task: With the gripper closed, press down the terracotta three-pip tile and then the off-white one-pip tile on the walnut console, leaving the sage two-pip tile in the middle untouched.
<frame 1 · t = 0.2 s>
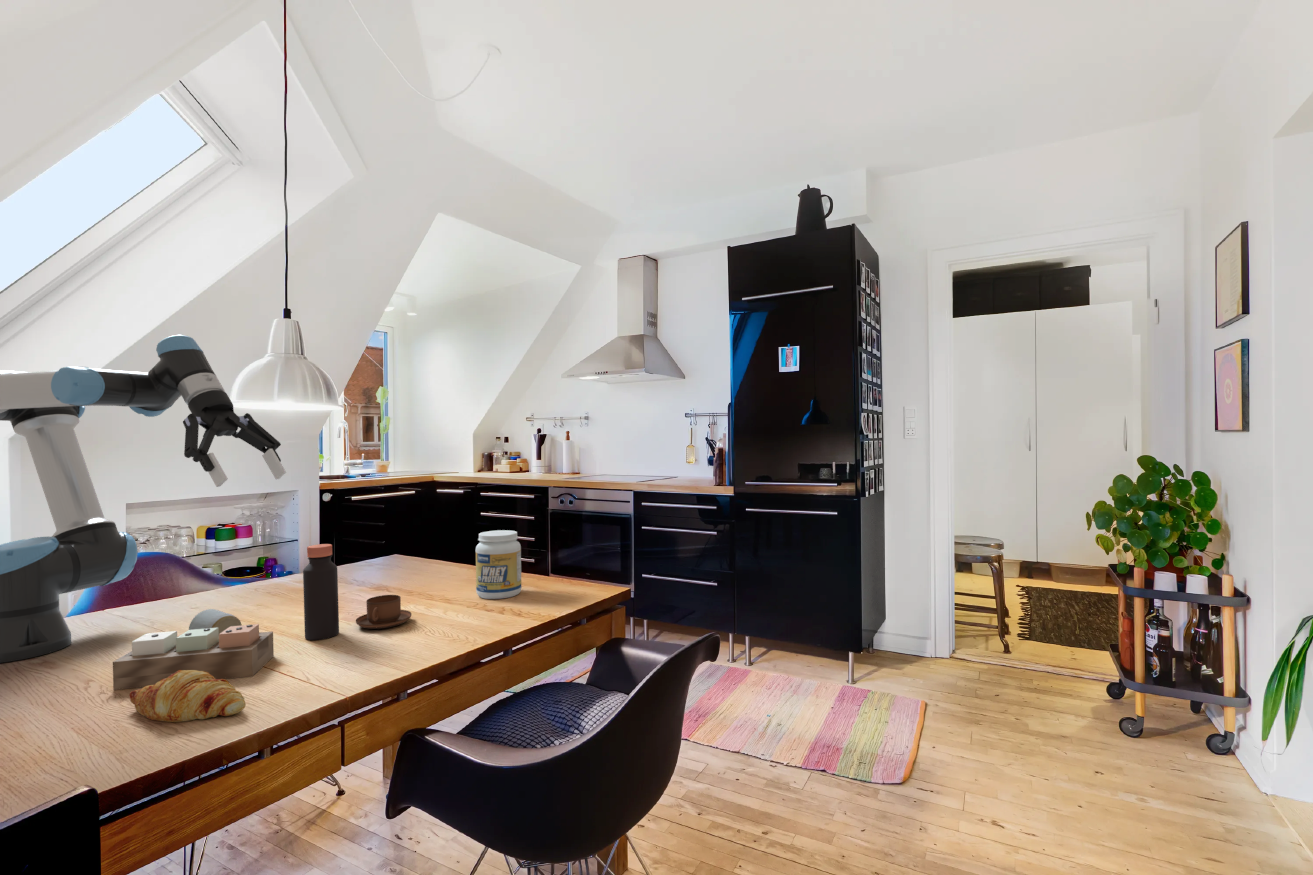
hand: (253, 479, 134), 35 cm above the table, tool tilted 35°, fingers open, 13 cm apart
supplement tub: (499, 595, 174), on the table
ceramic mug: (222, 644, 137), on the table
cup and saucer: (384, 625, 148), on the table
bottle: (322, 636, 141), on the table
three pip tile: (239, 637, 122), point 6 cm above the table, slide at 0.0 cm
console: (198, 671, 120), on the table
two pip tile: (197, 641, 120), point 6 cm above the table, slide at 0.0 cm
one pip tile: (155, 644, 118), point 6 cm above the table, slide at 0.0 cm
croissant: (186, 714, 102), on the table
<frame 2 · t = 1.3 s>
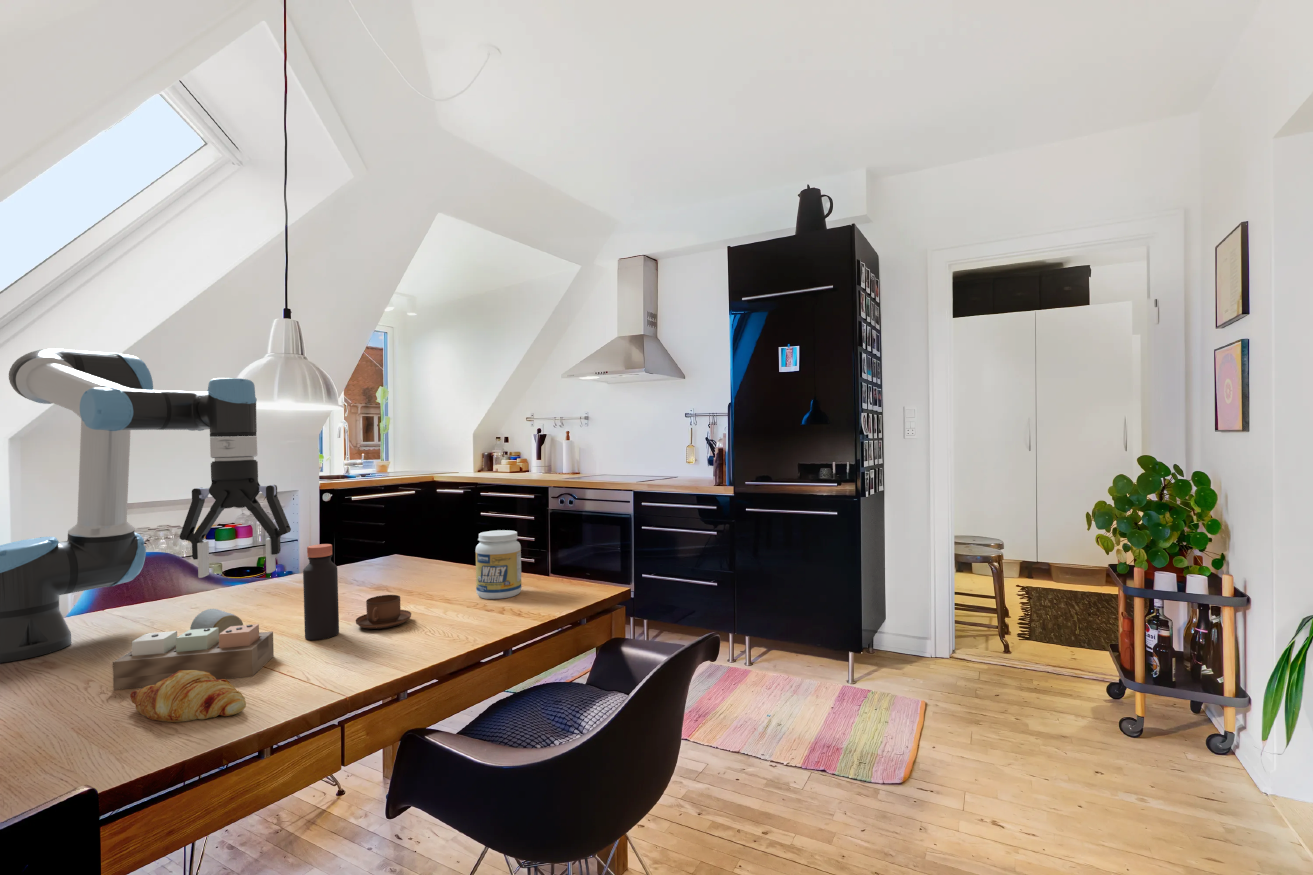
hand: (237, 573, 122), 18 cm above the table, tool pointing down, fingers open, 11 cm apart
nothing on the table moved.
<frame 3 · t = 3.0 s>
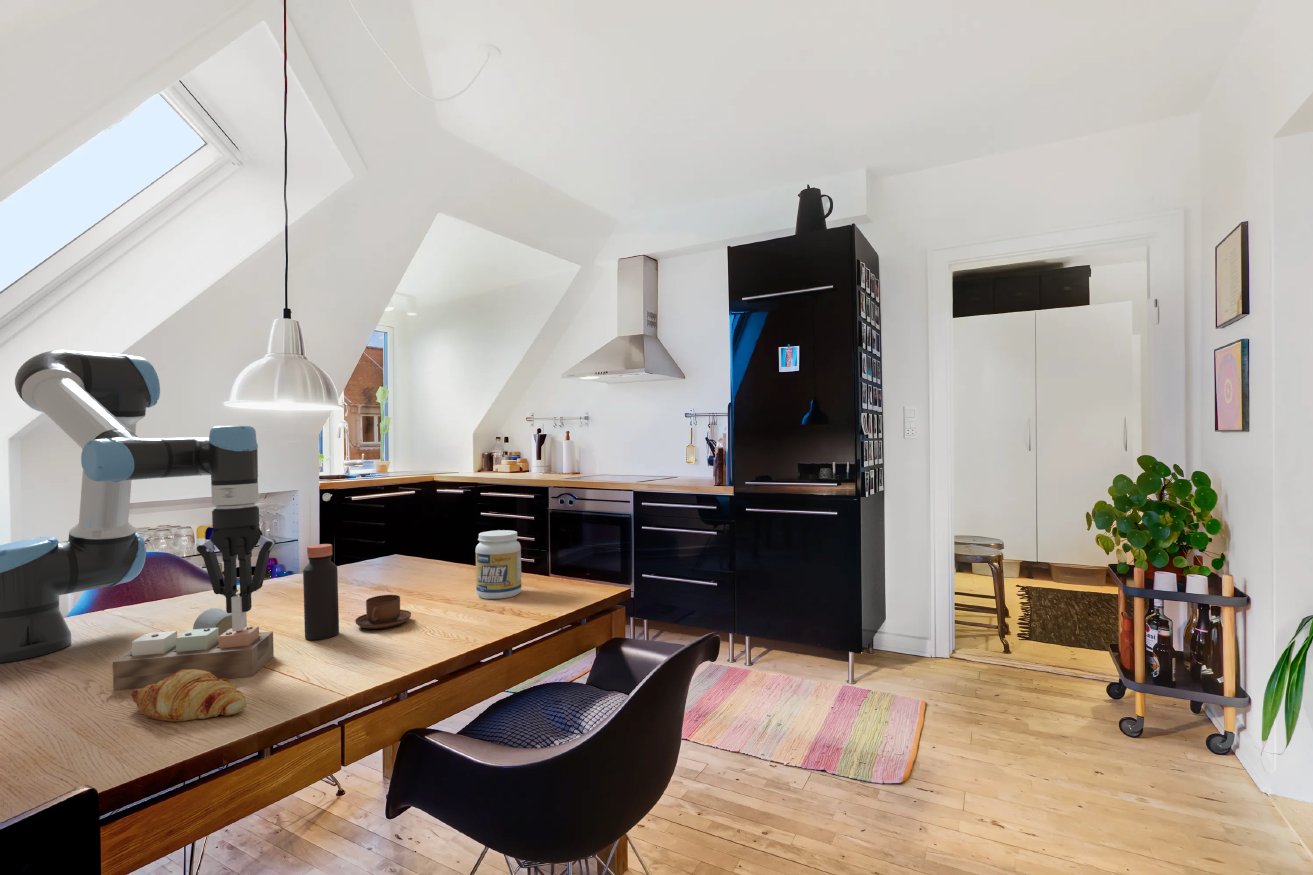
hand: (239, 628, 122), 8 cm above the table, tool pointing down, fingers closed
three pip tile: (239, 639, 122), point 5 cm above the table, slide at 0.4 cm, touching gripper
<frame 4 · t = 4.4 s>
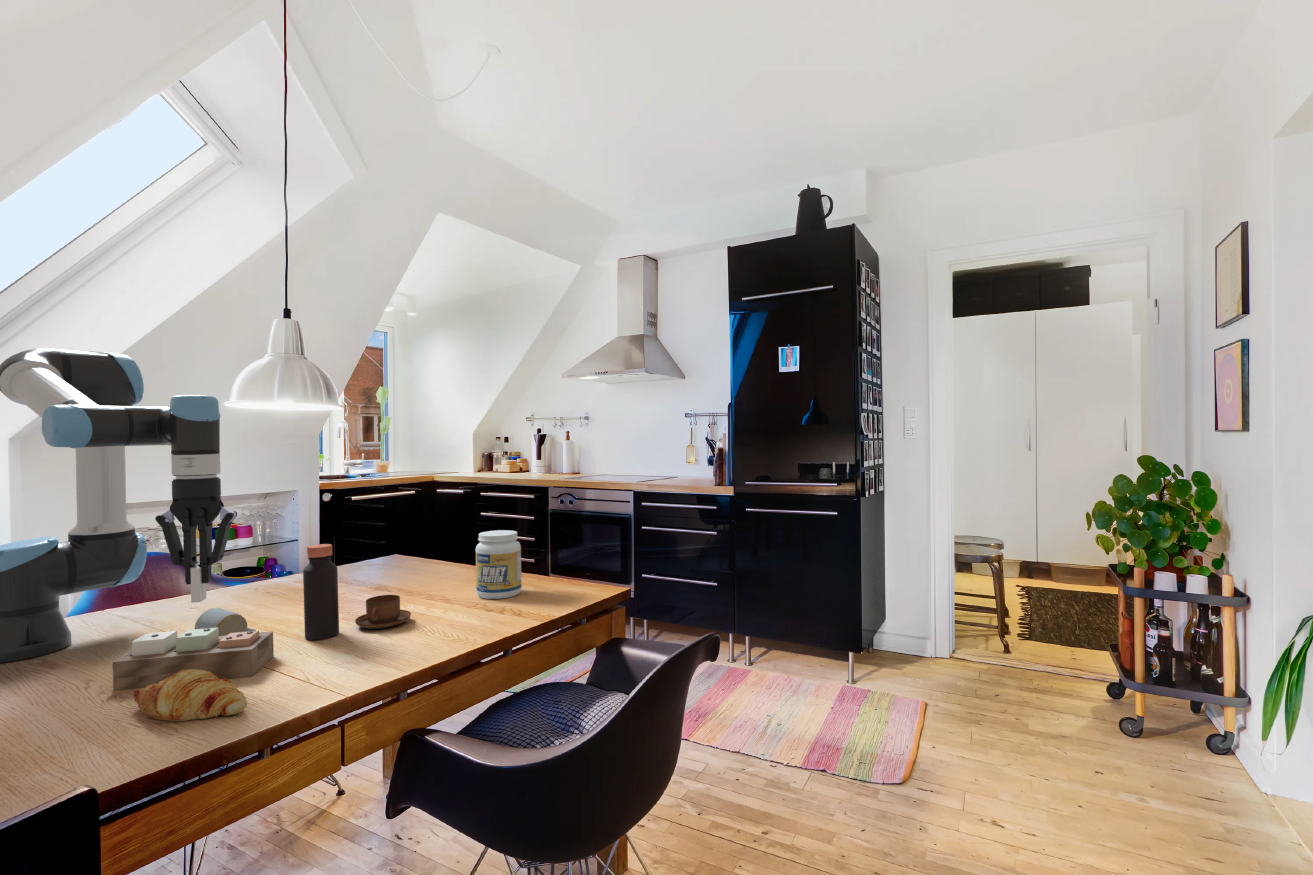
hand: (198, 600, 121), 13 cm above the table, tool pointing down, fingers closed
three pip tile: (239, 644, 122), point 5 cm above the table, slide at 1.3 cm
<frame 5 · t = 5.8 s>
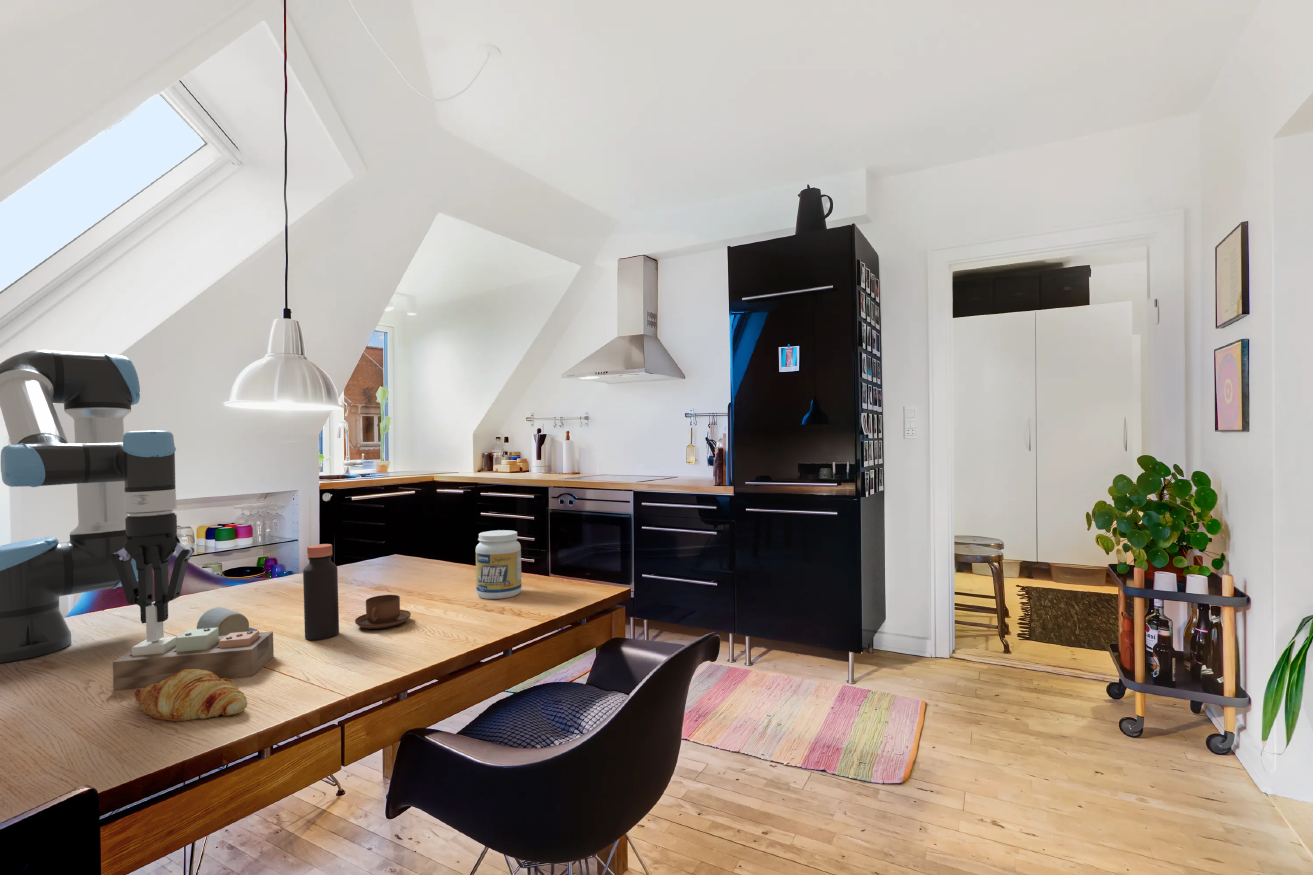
hand: (155, 639, 118), 7 cm above the table, tool pointing down, fingers closed
one pip tile: (155, 650, 118), point 5 cm above the table, slide at 1.0 cm, touching gripper
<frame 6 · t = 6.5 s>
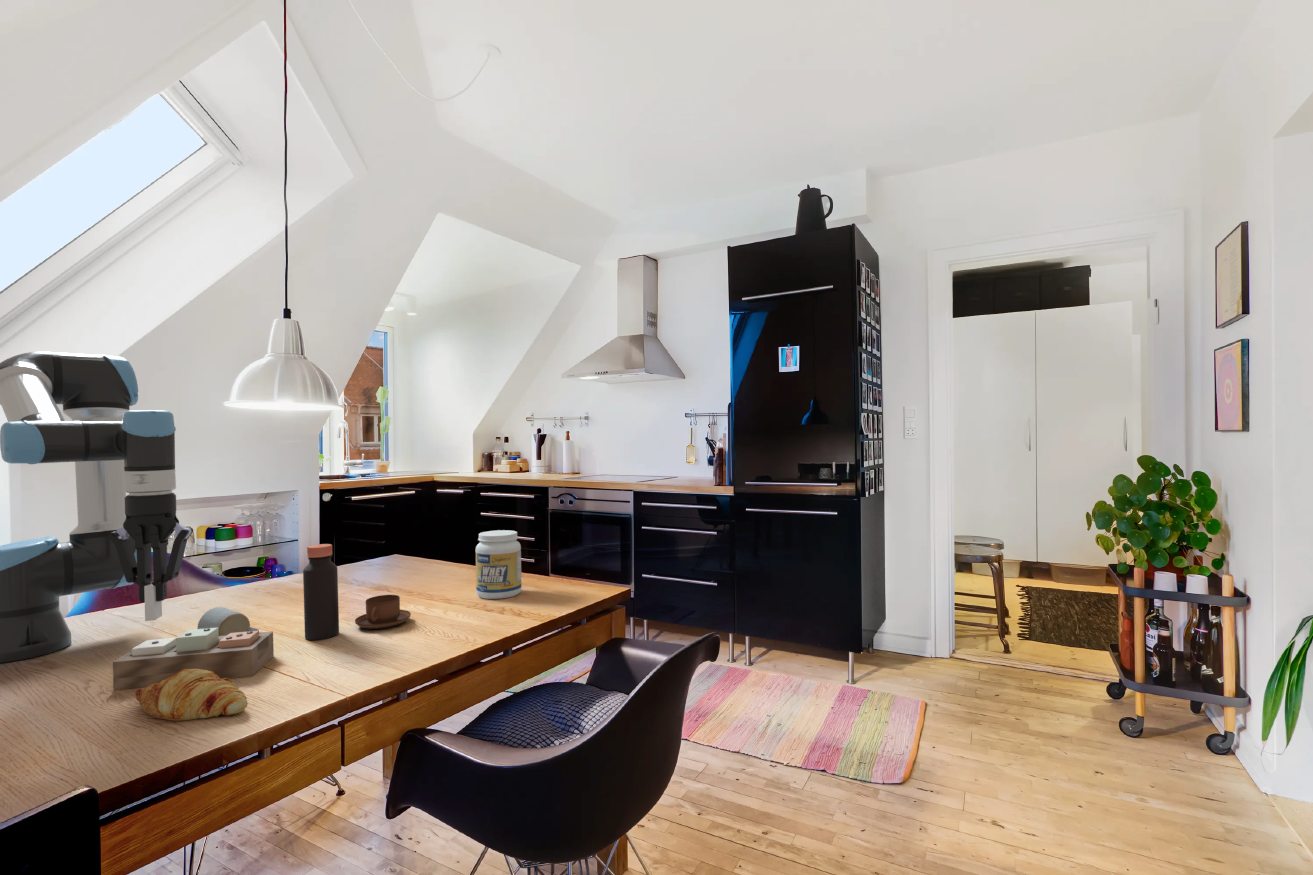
hand: (153, 618, 119), 11 cm above the table, tool pointing down, fingers closed
one pip tile: (155, 651, 118), point 5 cm above the table, slide at 1.3 cm
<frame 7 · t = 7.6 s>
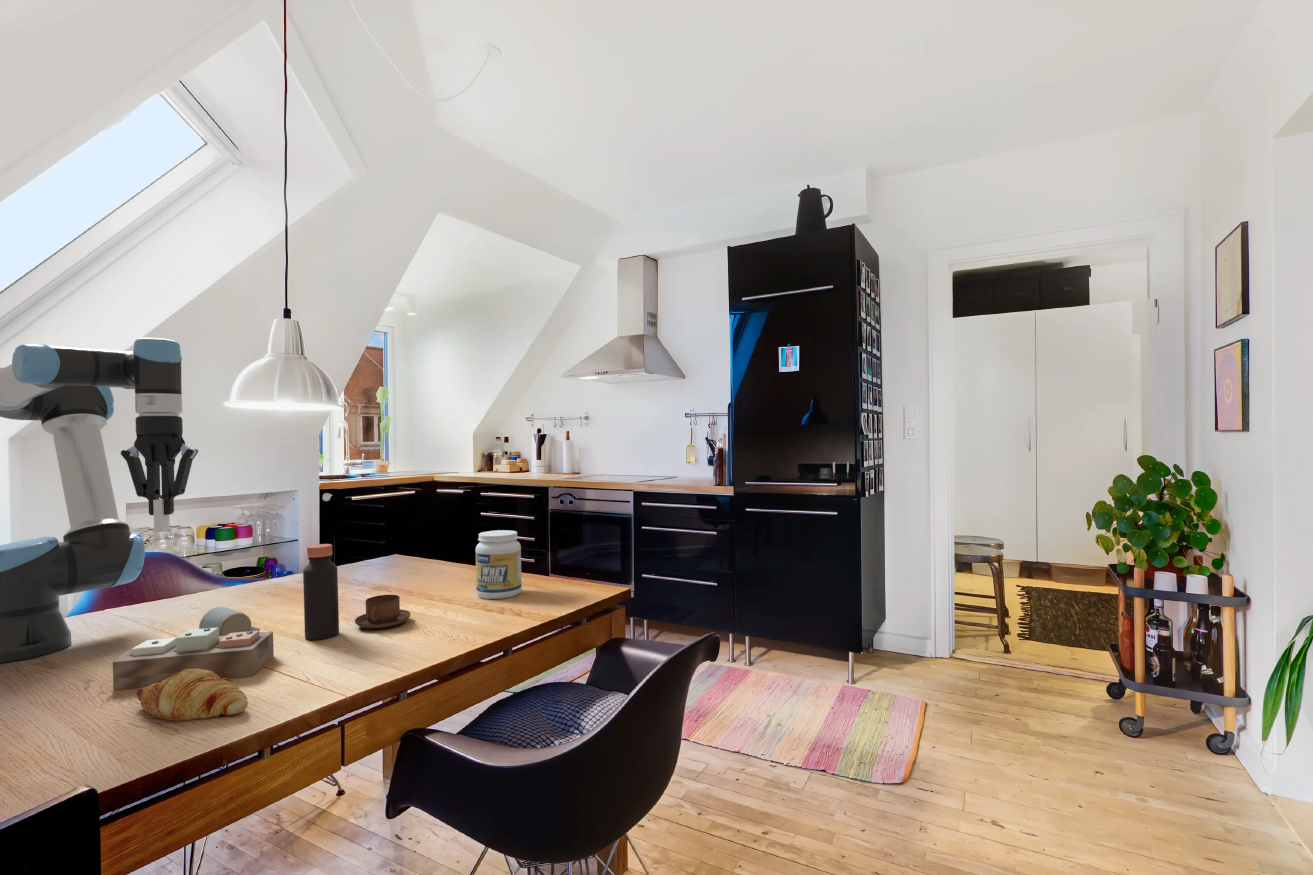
hand: (161, 530, 129), 26 cm above the table, tool pointing down, fingers closed
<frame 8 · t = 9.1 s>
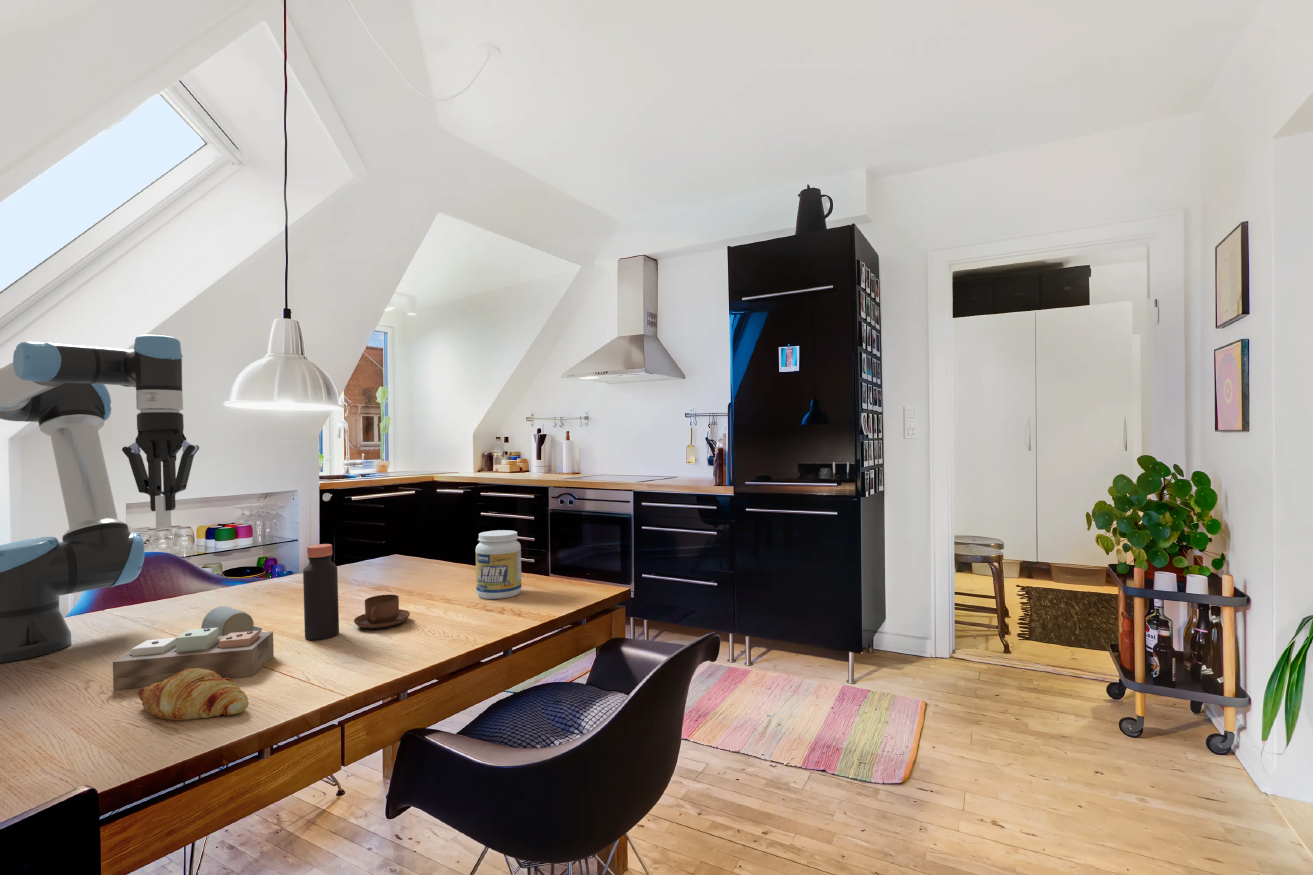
hand: (163, 526, 130), 26 cm above the table, tool pointing down, fingers closed
at the end: three pip tile slide at 1.3 cm; one pip tile slide at 1.3 cm; two pip tile slide at 0.0 cm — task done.
